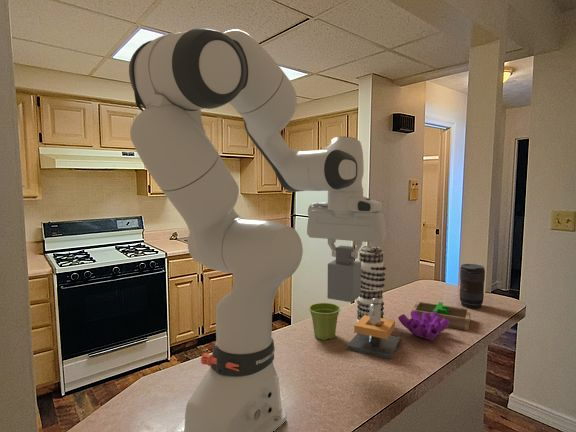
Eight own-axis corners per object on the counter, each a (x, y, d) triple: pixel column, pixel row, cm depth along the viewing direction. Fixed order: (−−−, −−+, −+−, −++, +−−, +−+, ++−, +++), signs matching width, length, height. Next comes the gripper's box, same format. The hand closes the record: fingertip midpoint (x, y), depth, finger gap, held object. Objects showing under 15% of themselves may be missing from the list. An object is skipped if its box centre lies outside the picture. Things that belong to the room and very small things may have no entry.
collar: (386, 339, 96) (387, 331, 96) (354, 332, 101) (354, 325, 101) (394, 327, 104) (395, 320, 104) (364, 321, 109) (364, 315, 108)
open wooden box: (468, 330, 113) (468, 319, 112) (411, 320, 121) (411, 310, 121) (470, 319, 121) (470, 309, 121) (416, 311, 130) (417, 301, 129)
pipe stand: (390, 359, 95) (391, 308, 93) (347, 349, 101) (347, 301, 99) (401, 341, 105) (402, 295, 104) (360, 333, 111) (361, 290, 110)
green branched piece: (444, 326, 116) (444, 313, 115) (432, 323, 118) (432, 310, 117) (449, 315, 125) (450, 303, 124) (438, 313, 127) (439, 301, 126)
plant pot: (303, 338, 107) (303, 310, 107) (316, 327, 116) (316, 300, 115) (333, 345, 103) (333, 315, 102) (344, 332, 111) (344, 305, 111)
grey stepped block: (352, 302, 90) (352, 250, 89) (327, 298, 93) (327, 248, 92) (360, 295, 96) (361, 246, 94) (337, 291, 99) (337, 244, 98)
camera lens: (453, 304, 137) (455, 264, 135) (469, 301, 140) (470, 262, 139) (472, 311, 129) (474, 269, 128) (488, 307, 133) (490, 267, 131)
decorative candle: (386, 319, 122) (387, 245, 120) (382, 329, 114) (384, 250, 111) (358, 315, 126) (359, 243, 123) (353, 325, 117) (354, 248, 115)
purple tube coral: (405, 351, 106) (389, 320, 110) (431, 337, 116) (415, 308, 120) (435, 339, 99) (417, 306, 102) (461, 324, 108) (443, 295, 112)
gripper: (302, 202, 94) (302, 255, 96) (381, 205, 84) (380, 263, 86) (313, 201, 100) (313, 251, 101) (388, 203, 90) (387, 258, 91)
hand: (344, 257), depth 93 cm, fingers closed on grey stepped block, 3 cm apart
